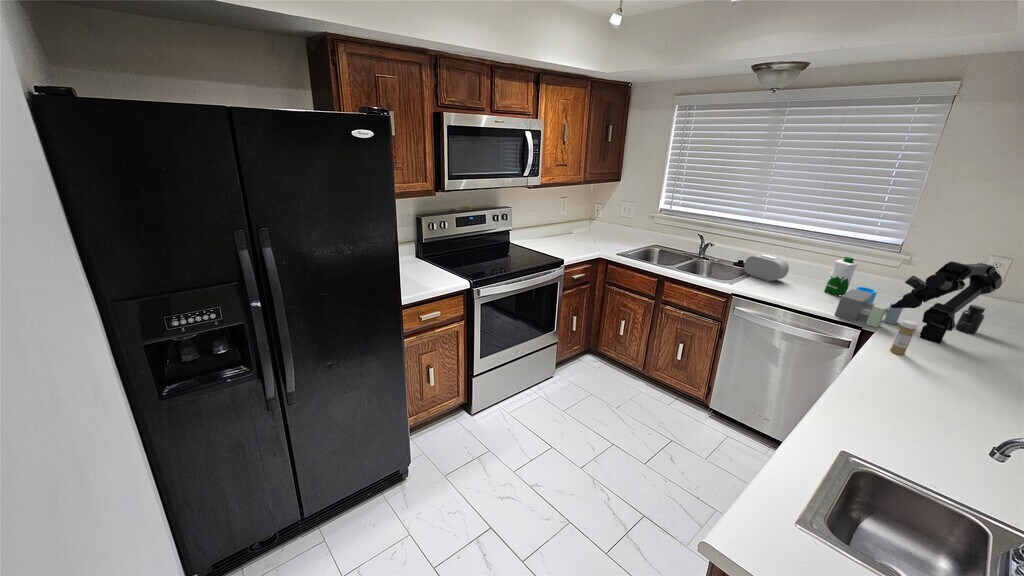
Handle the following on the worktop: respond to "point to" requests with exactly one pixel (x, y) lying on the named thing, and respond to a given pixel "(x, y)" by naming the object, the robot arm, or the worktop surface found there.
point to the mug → (868, 292)
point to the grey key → (889, 313)
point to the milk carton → (840, 276)
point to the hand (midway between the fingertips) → (894, 304)
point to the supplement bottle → (970, 319)
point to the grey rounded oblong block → (766, 267)
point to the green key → (874, 314)
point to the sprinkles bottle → (903, 337)
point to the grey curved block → (852, 304)
